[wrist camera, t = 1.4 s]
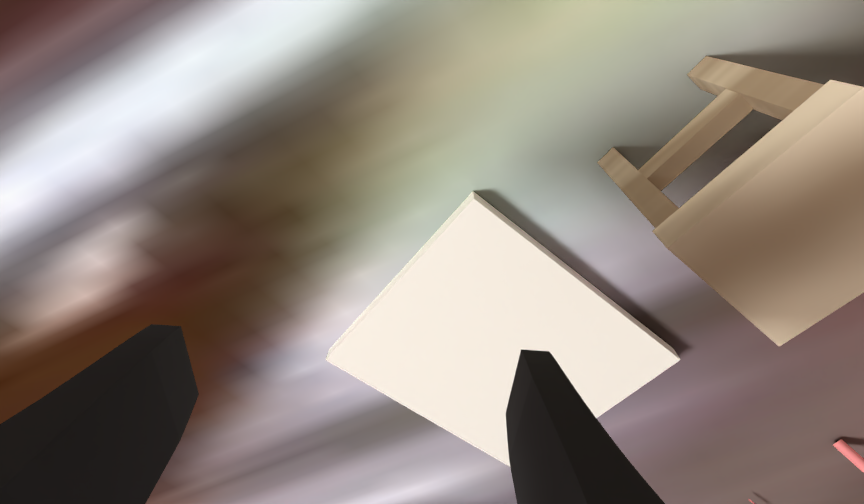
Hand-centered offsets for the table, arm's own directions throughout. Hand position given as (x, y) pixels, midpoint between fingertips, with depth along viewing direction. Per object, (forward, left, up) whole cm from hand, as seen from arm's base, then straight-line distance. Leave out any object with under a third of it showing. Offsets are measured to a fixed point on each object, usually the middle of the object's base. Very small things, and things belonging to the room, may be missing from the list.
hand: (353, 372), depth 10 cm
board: (-9, +3, -10) cm, 14 cm away
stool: (-8, -8, -10) cm, 16 cm away
